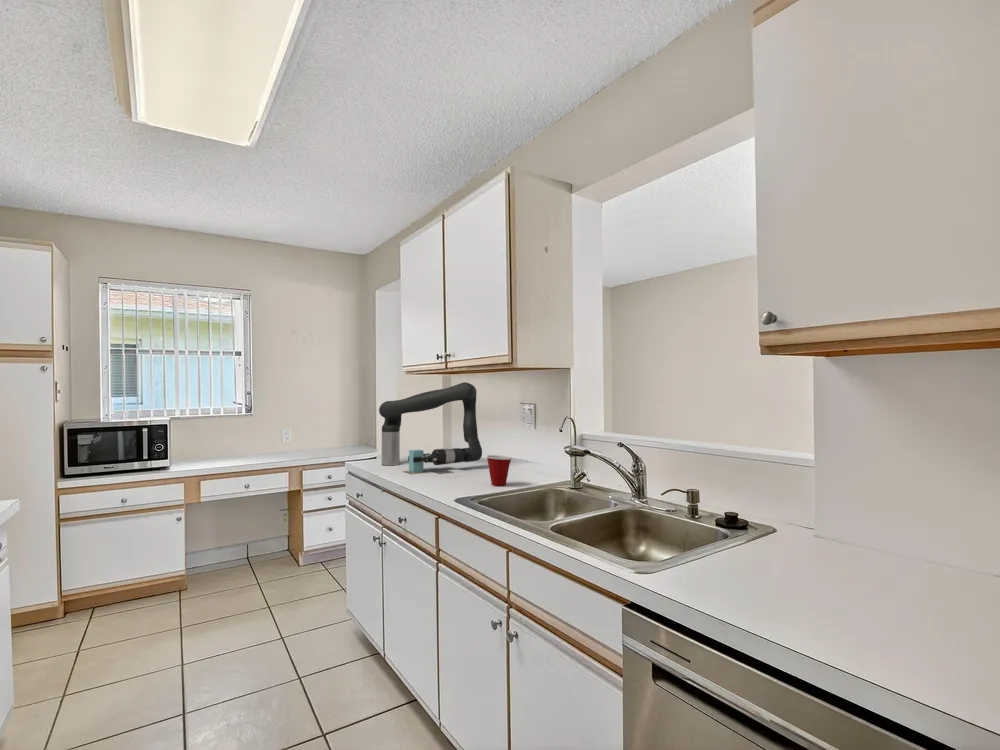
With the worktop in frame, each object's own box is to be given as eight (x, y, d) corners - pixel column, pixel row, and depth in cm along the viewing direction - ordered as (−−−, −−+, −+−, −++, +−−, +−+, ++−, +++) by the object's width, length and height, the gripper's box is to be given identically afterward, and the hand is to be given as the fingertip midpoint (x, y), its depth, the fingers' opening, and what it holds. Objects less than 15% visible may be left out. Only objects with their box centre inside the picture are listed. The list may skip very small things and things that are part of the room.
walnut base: (401, 473, 243) (401, 462, 243) (421, 471, 249) (421, 461, 249) (410, 476, 235) (410, 465, 235) (430, 474, 241) (430, 463, 241)
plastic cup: (516, 486, 210) (516, 457, 211) (490, 488, 207) (490, 458, 207) (507, 482, 221) (507, 453, 221) (482, 483, 217) (482, 454, 218)
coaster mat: (431, 473, 242) (431, 471, 242) (446, 472, 247) (446, 470, 247) (439, 476, 236) (439, 473, 236) (454, 474, 240) (454, 472, 240)
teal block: (408, 471, 242) (409, 450, 243) (418, 470, 245) (418, 449, 246) (413, 473, 238) (413, 451, 239) (423, 472, 241) (423, 450, 241)
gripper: (436, 447, 256) (404, 449, 246) (450, 450, 244) (417, 452, 235) (436, 462, 256) (404, 465, 246) (450, 466, 244) (417, 469, 234)
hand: (411, 459), depth 241 cm, fingers closed on teal block, 5 cm apart
